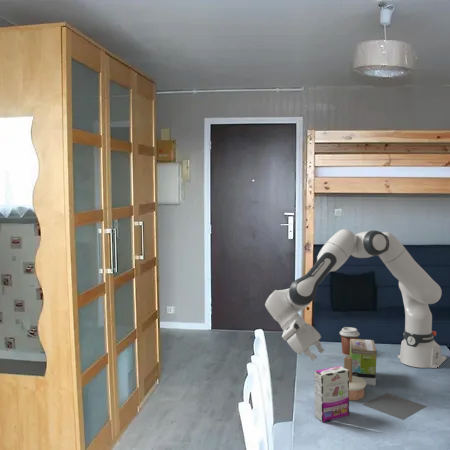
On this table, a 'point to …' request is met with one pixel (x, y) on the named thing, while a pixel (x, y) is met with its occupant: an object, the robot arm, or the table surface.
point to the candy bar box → (331, 393)
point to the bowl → (356, 394)
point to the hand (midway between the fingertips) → (319, 355)
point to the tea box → (364, 359)
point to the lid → (354, 381)
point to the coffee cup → (348, 338)
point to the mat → (394, 406)
